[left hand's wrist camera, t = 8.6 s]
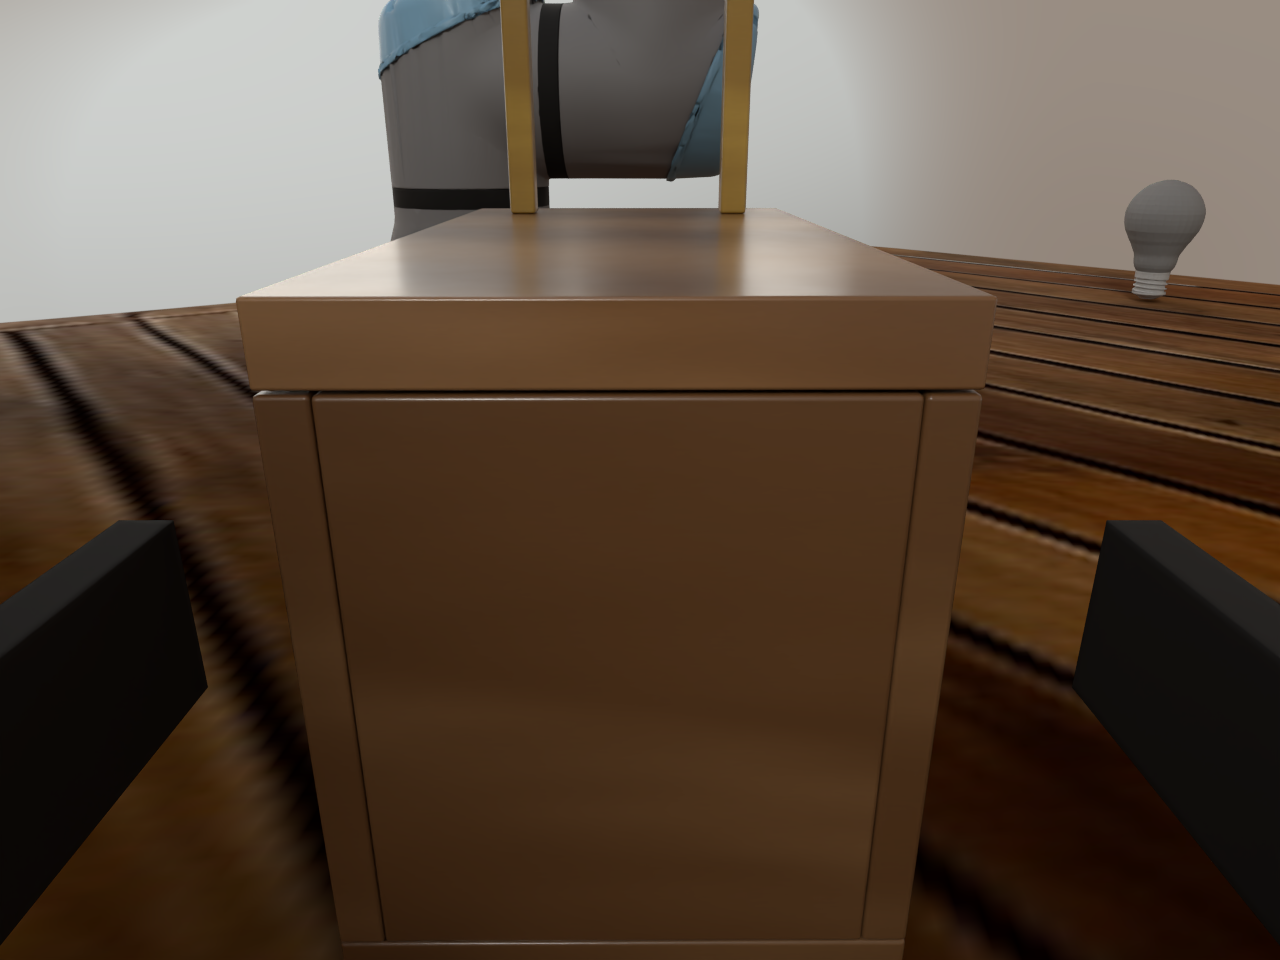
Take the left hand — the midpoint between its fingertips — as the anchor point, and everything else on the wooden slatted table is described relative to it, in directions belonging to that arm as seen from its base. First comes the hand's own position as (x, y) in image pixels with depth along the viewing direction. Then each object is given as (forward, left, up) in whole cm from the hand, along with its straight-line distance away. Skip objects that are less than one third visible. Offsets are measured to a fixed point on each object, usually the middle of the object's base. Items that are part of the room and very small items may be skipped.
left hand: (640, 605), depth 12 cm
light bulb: (-23, +78, -6) cm, 81 cm away
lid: (-6, +5, +3) cm, 9 cm away
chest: (-6, +5, -6) cm, 10 cm away
